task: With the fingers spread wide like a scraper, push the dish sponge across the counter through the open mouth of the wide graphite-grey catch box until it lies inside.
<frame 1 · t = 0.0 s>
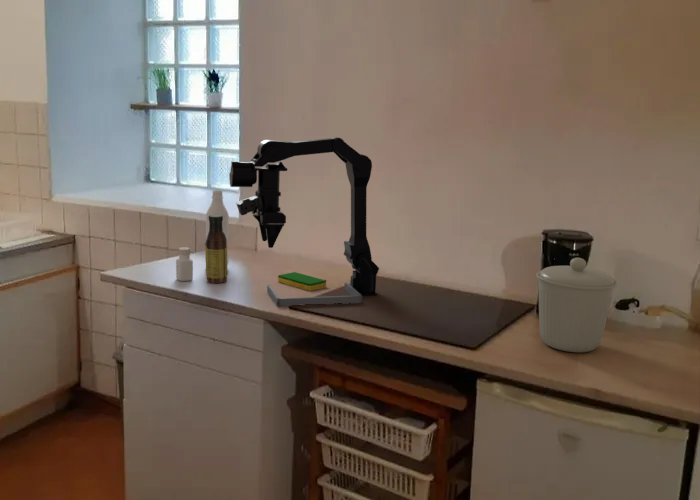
hand: (267, 244, 196), 15 cm above the worktop, fingers open, 9 cm apart
catch box: (313, 297, 200), on the worktop
dish sponge: (301, 286, 214), on the worktop
canister: (568, 346, 168), on the worktop
water bottle: (216, 269, 228), on the worktop
sauce bottle: (216, 282, 212), on the worktop
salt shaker: (184, 280, 212), on the worktop
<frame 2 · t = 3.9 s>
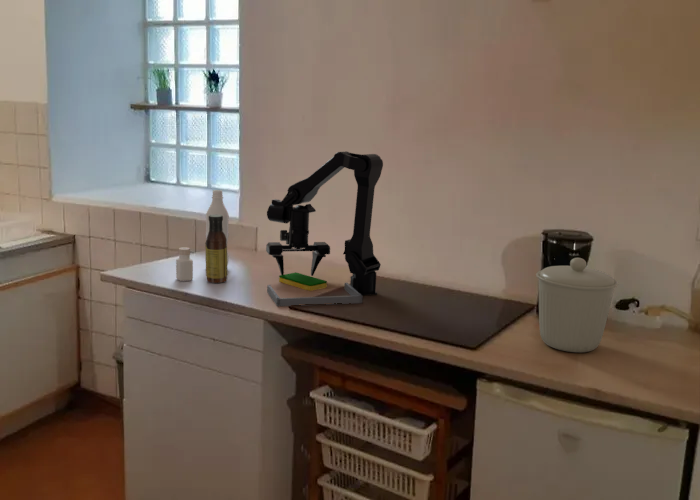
hand: (297, 275, 219), 1 cm above the worktop, fingers open, 9 cm apart
dish sponge: (302, 286, 214), on the worktop, touching gripper
everything else where it was.
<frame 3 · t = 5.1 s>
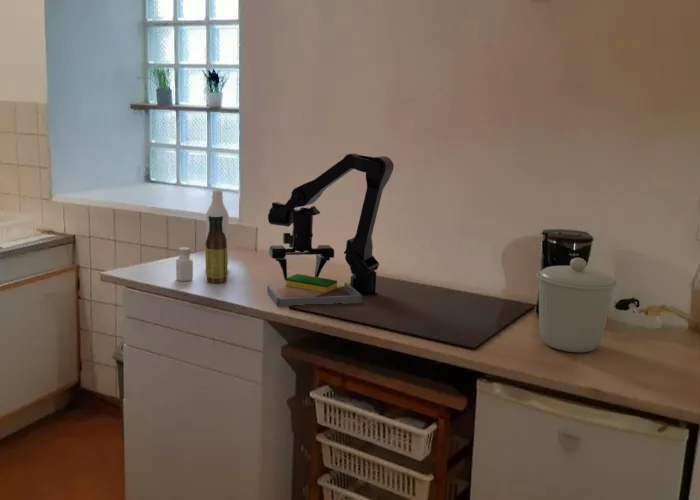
hand: (300, 279, 214), 1 cm above the worktop, fingers open, 9 cm apart
dish sponge: (311, 287, 212), on the worktop
everything else where it was.
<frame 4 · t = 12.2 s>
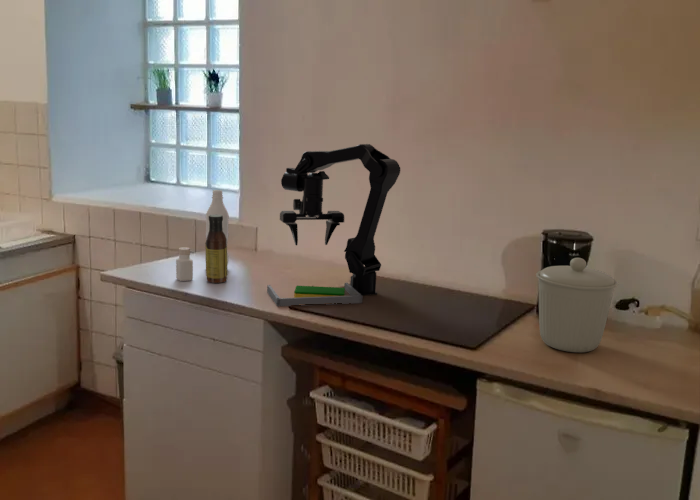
hand: (311, 244, 216), 11 cm above the worktop, fingers open, 9 cm apart
dish sponge: (319, 298, 201), on the worktop
everything else where it was.
at the end: dish sponge inside the target area on the catch box (2.9 cm from its centre), point -0.7 cm above the catch box's base; dish sponge moved 14.2 cm from its start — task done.
